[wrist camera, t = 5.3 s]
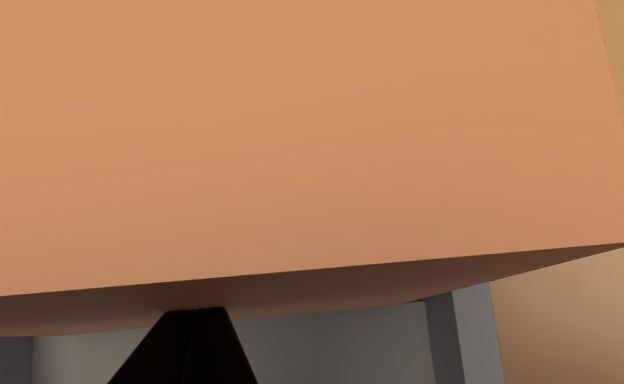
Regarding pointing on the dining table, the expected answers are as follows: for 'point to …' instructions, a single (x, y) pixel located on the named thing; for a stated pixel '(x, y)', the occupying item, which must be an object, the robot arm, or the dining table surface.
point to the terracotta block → (294, 154)
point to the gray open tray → (304, 346)
